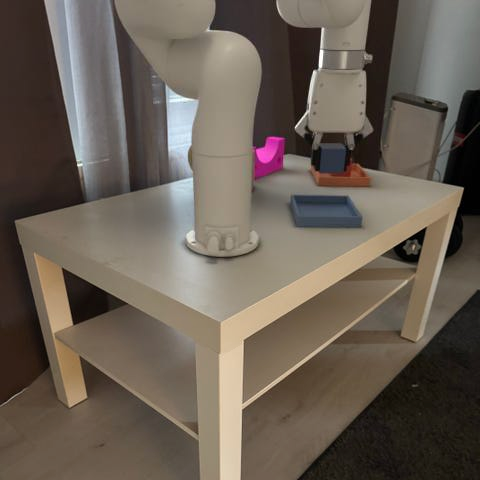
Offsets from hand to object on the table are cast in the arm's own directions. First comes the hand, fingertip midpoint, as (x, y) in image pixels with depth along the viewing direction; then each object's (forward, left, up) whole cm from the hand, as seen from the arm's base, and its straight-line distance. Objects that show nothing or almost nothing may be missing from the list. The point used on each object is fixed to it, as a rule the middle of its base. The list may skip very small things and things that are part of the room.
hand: (329, 168), depth 92 cm
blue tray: (0, 0, -9) cm, 9 cm away
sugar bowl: (+16, +20, -9) cm, 27 cm away
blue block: (0, 0, 0) cm, 0 cm away
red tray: (+27, -8, -9) cm, 29 cm away
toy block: (+31, +12, -9) cm, 35 cm away
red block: (+27, -8, -9) cm, 29 cm away
